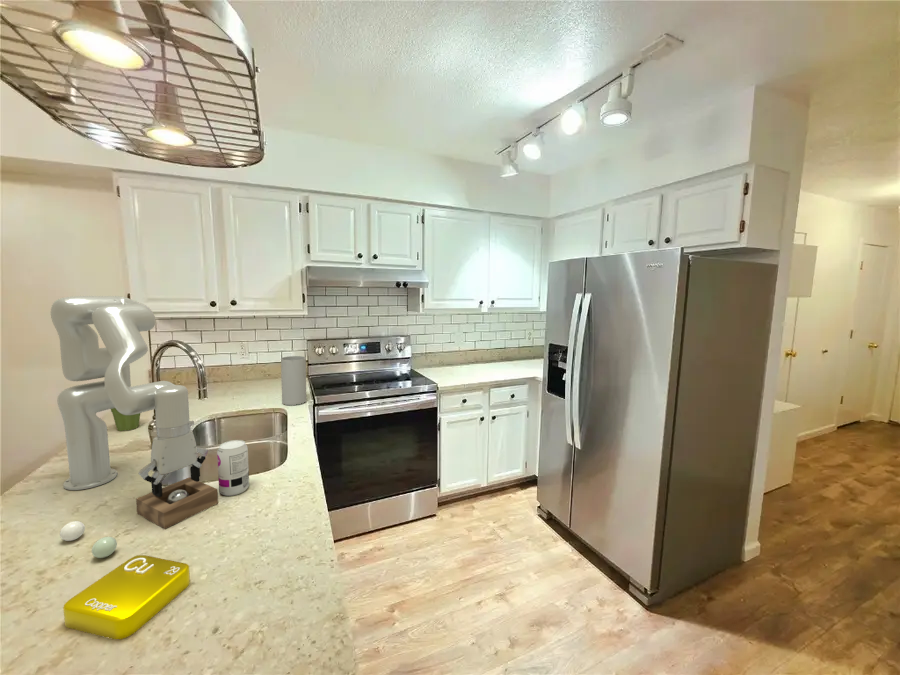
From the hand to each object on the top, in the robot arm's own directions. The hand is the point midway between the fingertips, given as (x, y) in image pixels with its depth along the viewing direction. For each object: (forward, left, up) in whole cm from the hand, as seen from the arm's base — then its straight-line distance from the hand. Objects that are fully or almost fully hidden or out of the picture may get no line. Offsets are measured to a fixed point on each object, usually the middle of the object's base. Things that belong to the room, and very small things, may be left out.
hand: (177, 487), depth 108 cm
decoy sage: (+6, -19, -4) cm, 20 cm away
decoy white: (-8, -20, -4) cm, 22 cm away
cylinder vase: (-54, +87, -6) cm, 103 cm away
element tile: (+26, -22, -7) cm, 35 cm away
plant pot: (-83, +23, -6) cm, 86 cm away
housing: (0, 0, -6) cm, 6 cm away
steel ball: (0, 0, -4) cm, 4 cm away
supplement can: (+4, +14, -6) cm, 16 cm away
